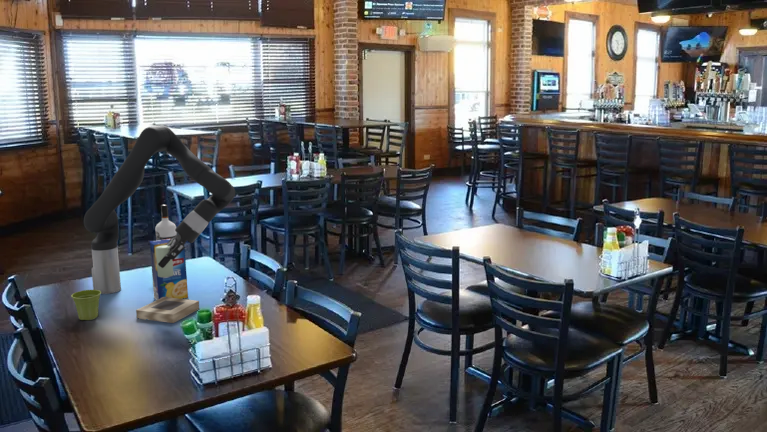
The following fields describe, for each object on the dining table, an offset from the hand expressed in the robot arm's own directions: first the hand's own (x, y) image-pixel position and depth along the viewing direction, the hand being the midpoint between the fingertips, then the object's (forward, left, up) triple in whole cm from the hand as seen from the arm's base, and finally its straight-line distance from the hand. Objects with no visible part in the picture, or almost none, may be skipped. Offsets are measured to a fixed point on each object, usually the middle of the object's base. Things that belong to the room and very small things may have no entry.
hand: (159, 264), depth 231 cm
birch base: (+1, +1, -18) cm, 18 cm away
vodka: (-29, +42, -18) cm, 54 cm away
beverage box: (-9, +16, -18) cm, 26 cm away
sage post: (+1, +1, -4) cm, 5 cm away
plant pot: (-23, -11, -18) cm, 31 cm away
